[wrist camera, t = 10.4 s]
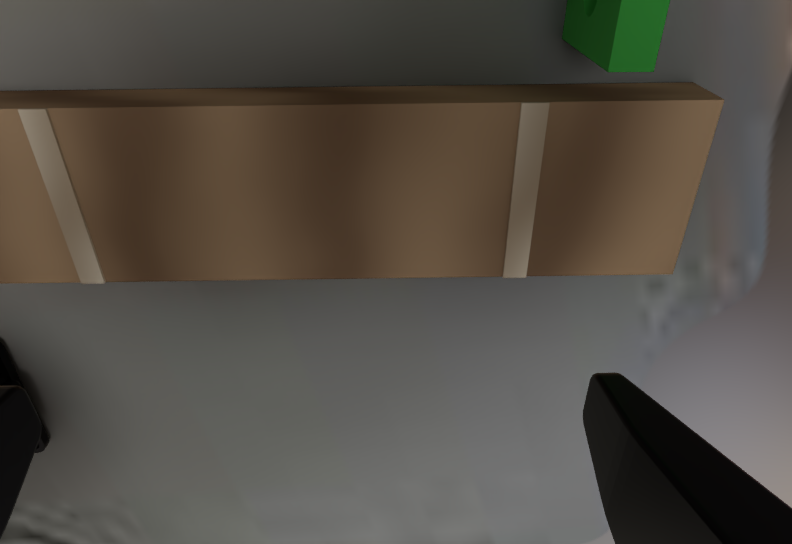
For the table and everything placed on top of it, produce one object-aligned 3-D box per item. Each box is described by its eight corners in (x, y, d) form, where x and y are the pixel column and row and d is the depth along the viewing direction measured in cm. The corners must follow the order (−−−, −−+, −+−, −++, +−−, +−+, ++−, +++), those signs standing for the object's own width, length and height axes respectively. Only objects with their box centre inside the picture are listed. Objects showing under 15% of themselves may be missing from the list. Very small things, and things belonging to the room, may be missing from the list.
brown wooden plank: (10, 254, 21) (-24, 285, 20) (-60, 91, 18) (-108, 111, 16) (649, 245, 21) (673, 275, 20) (693, 82, 18) (726, 100, 16)
